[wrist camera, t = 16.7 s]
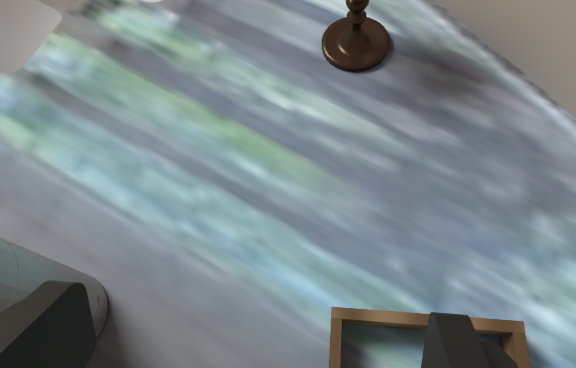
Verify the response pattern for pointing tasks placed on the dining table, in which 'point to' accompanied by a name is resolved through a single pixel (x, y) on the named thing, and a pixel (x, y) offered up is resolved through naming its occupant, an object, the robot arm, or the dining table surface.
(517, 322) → the bin
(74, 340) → the robot arm
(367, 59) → the candlestick
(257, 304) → the dining table surface
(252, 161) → the dining table surface
